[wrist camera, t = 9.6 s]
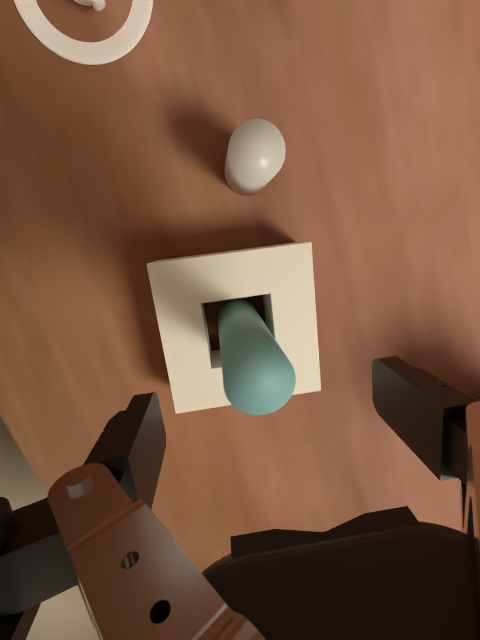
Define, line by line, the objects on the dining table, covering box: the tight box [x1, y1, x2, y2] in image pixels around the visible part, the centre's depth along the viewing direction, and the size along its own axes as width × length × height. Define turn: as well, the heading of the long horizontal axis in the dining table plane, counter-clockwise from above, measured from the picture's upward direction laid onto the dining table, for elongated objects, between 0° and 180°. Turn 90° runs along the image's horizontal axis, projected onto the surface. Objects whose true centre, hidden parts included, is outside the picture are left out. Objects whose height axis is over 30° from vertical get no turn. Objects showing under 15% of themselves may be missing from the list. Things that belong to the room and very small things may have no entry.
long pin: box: [218, 299, 296, 415], centre depth 18 cm, size 3×3×11 cm
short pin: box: [224, 119, 285, 196], centre depth 19 cm, size 3×3×5 cm
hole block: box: [146, 242, 321, 414], centre depth 22 cm, size 10×10×4 cm
